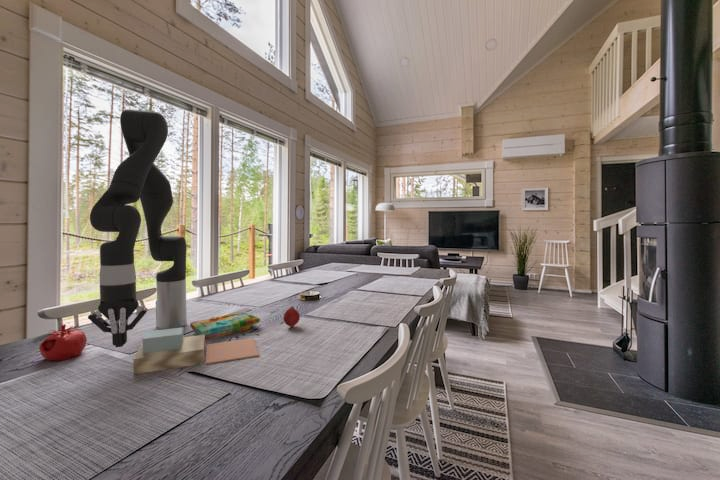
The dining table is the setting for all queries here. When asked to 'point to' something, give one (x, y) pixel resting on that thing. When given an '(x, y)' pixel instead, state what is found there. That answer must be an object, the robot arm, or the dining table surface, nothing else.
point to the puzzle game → (224, 325)
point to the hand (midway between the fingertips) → (120, 345)
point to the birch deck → (171, 356)
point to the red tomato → (63, 344)
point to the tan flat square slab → (231, 351)
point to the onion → (291, 317)
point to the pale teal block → (163, 340)
